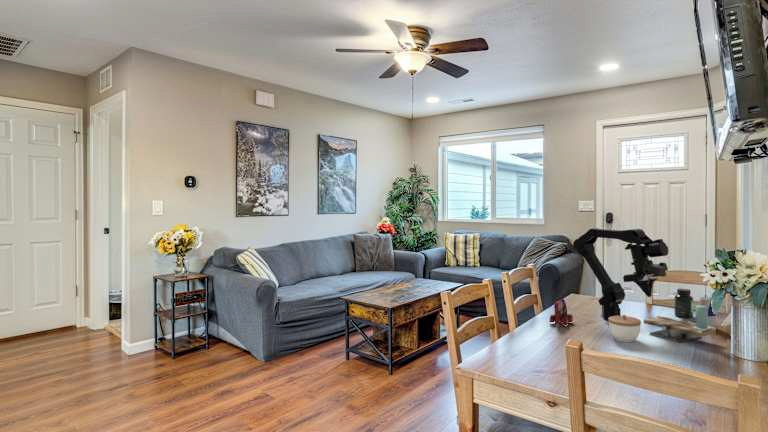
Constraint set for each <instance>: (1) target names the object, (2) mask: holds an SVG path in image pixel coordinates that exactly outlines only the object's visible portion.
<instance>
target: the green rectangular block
mask: <svg viewBox="0 0 768 432" xmlns="http://www.w3.org/2000/svg"><path fill="white" fill-rule="evenodd" d="M695 324H696V326H695V327H692V329H693V330H698V331H702V332H703V331H707V330H710V329H712V327H709V326H708V307H706V306H700V305H699V304H698V305H697V304H696V305H695Z"/></svg>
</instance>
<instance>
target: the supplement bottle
mask: <svg viewBox="0 0 768 432" xmlns="http://www.w3.org/2000/svg"><path fill="white" fill-rule="evenodd" d="M691 295H692V293H691V289H688V288H677V290H676V295H675V296H674V316H675V317H677V318H681V319H693V318H694V297H693V296H691Z"/></svg>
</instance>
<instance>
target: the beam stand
mask: <svg viewBox="0 0 768 432" xmlns="http://www.w3.org/2000/svg"><path fill="white" fill-rule="evenodd" d="M680 320H681V321H685V322H689V320H688V319H687V320H686V319H685V318H681V319H680ZM649 334H650V335H651V336H654V337H658V338H661V339H665V340H668V341H671V342H674V343H678V344H681V343H685V342H688V341H693V340H696V339H699V338H700V339H701V338H702V337H699V336H695V335H691V334H687V333H683V332H678V331H674V330H670V325H669V324H665V323H664V324H663V327H661V329H660V330H656V331H652V332H650V333H649Z"/></svg>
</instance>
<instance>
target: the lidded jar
mask: <svg viewBox="0 0 768 432" xmlns="http://www.w3.org/2000/svg"><path fill="white" fill-rule="evenodd" d="M607 321H608V327H609V332H610V334H611V335H612V336H613V337H614V338H615V340H616V341H619V342H623V343H633V342H634V341H635V340H636V339H637V338H638V337H639V336H640V332H641V323H642V321H641V320H640V319H638V318H636V317H633V316H627V315H626V314H622V315H621V316H611V317H609V318H608V320H607Z"/></svg>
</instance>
